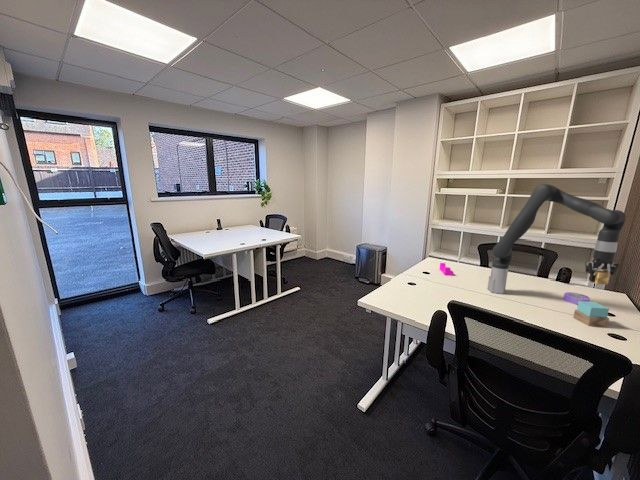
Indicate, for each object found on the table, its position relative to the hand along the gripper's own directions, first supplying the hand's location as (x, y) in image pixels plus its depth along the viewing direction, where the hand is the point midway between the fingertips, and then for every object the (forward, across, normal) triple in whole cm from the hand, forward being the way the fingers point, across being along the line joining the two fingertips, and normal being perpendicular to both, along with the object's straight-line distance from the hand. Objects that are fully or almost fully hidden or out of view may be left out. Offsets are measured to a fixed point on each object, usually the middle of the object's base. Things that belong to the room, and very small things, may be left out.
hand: (597, 281), depth 136 cm
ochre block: (0, 0, 0) cm, 0 cm away
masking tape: (+23, +15, +28) cm, 39 cm away
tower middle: (+18, 0, 0) cm, 18 cm away
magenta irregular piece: (+23, -48, +73) cm, 91 cm away
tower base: (+23, 0, 0) cm, 23 cm away
